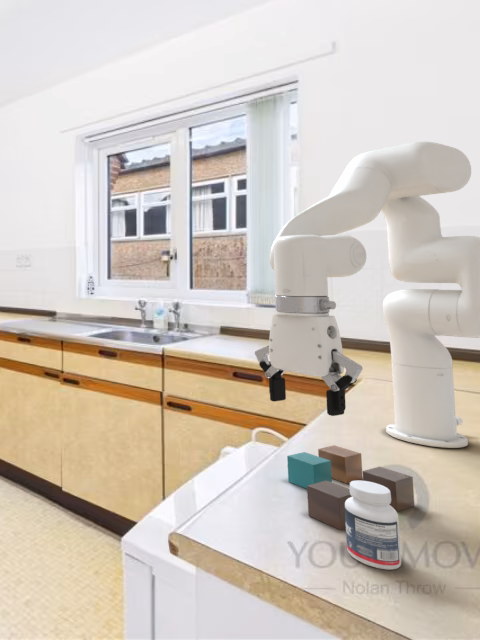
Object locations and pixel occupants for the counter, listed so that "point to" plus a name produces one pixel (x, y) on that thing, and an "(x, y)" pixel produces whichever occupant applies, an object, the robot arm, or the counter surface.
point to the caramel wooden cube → (343, 463)
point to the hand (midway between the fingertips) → (305, 407)
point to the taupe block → (393, 486)
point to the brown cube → (328, 503)
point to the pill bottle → (372, 526)
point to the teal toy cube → (308, 469)
